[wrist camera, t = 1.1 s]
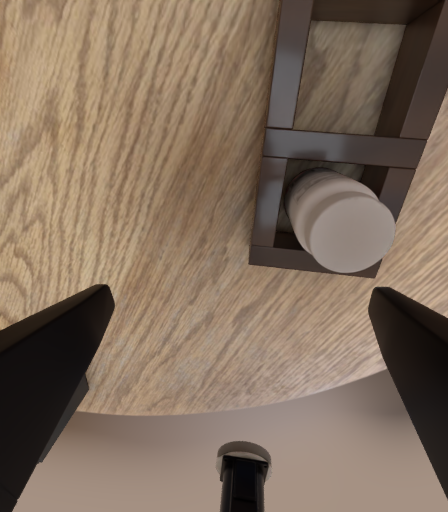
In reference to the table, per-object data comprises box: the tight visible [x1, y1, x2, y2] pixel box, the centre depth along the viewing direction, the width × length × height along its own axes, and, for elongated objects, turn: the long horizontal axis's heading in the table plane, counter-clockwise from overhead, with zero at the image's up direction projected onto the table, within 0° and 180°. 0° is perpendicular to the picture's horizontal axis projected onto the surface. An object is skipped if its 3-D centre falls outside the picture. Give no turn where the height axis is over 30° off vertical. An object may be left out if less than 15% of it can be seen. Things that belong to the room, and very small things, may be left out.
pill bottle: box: [284, 168, 396, 273], centre depth 16 cm, size 5×5×8 cm
